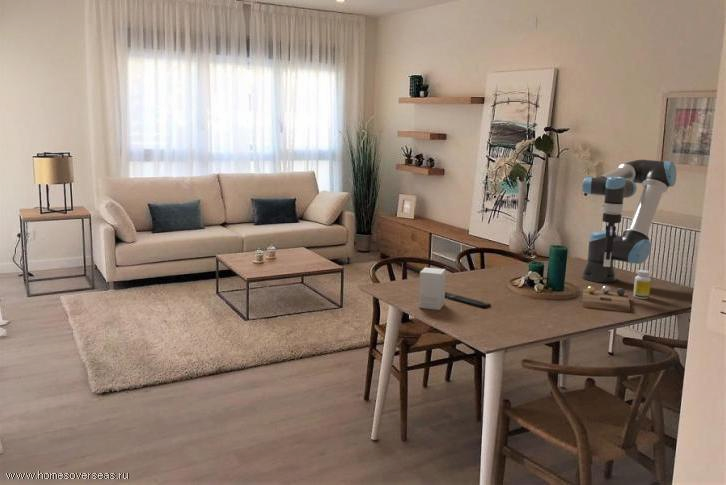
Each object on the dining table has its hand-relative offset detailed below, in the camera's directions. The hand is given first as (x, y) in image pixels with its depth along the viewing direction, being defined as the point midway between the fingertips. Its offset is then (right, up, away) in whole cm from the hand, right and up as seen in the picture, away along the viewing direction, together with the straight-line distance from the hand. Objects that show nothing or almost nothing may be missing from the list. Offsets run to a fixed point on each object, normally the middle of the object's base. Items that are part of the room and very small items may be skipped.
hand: (606, 266), depth 279 cm
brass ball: (-9, -10, -6) cm, 15 cm away
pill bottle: (+14, -14, -1) cm, 20 cm away
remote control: (-64, -15, -12) cm, 67 cm away
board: (-5, -15, -10) cm, 19 cm away
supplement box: (-79, -16, -20) cm, 83 cm away
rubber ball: (+3, -10, -8) cm, 14 cm away
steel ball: (-3, -10, -5) cm, 11 cm away
